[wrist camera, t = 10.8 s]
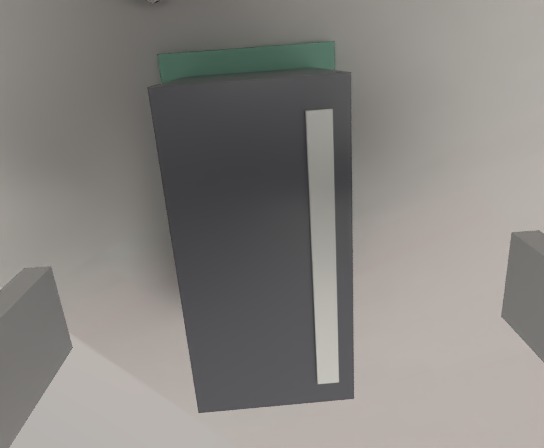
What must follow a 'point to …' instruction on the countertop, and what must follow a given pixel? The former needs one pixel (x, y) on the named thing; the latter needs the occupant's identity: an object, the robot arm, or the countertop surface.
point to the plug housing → (261, 232)
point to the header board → (246, 60)
